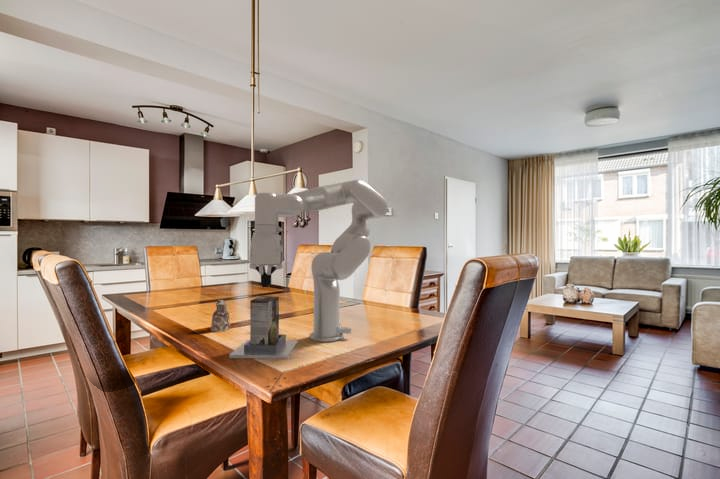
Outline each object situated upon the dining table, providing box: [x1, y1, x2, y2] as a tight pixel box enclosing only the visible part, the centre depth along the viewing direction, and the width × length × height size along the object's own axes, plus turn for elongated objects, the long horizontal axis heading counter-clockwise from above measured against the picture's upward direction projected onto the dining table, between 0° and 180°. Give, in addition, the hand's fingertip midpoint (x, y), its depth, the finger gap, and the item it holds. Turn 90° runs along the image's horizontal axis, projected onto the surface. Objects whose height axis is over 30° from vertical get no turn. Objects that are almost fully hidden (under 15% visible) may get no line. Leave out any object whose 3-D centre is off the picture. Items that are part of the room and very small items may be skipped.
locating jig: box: [228, 333, 299, 360], centre depth 117 cm, size 18×16×4 cm
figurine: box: [210, 298, 231, 333], centre depth 143 cm, size 7×7×12 cm
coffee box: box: [249, 295, 280, 345], centre depth 117 cm, size 9×6×16 cm
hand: (266, 286), depth 117 cm, fingers closed
